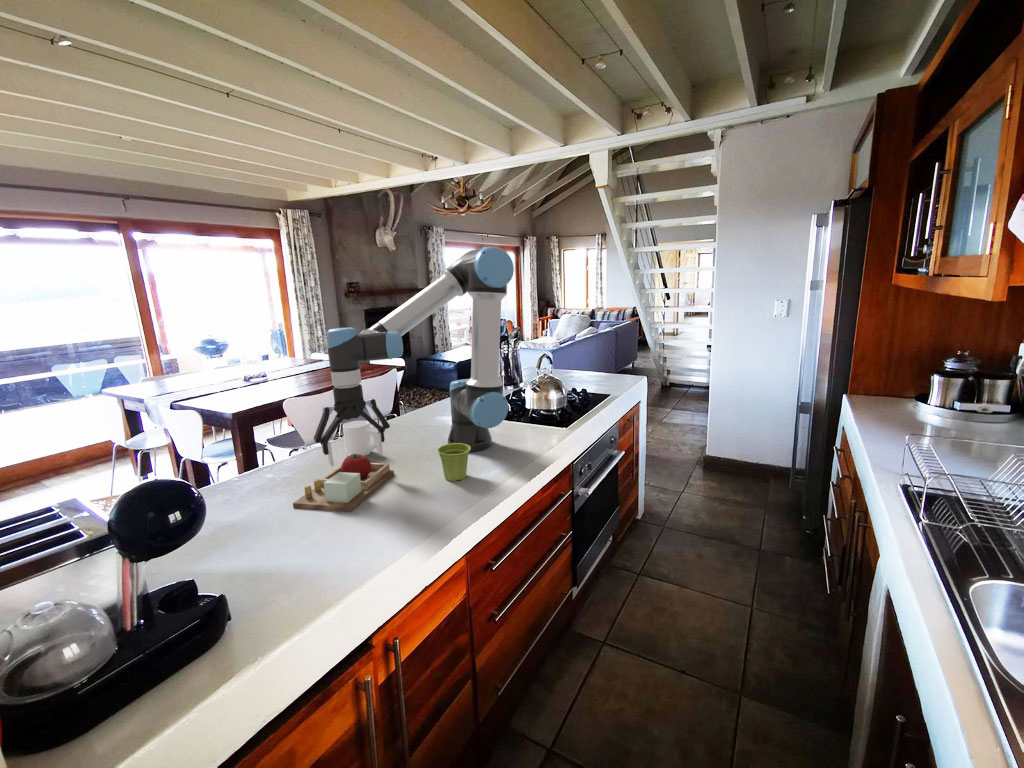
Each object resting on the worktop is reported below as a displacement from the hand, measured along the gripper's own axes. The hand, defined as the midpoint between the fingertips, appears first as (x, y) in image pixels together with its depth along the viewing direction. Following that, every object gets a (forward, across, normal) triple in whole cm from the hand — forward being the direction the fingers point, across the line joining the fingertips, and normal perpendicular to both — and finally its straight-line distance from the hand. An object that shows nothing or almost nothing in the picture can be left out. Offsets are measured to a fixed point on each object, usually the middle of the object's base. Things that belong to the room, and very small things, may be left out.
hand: (356, 459), depth 132 cm
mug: (+7, -8, -23) cm, 25 cm away
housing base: (+7, +4, +4) cm, 9 cm away
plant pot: (+7, -24, +14) cm, 28 cm away
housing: (+5, +7, +10) cm, 13 cm away
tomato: (+6, +1, 0) cm, 6 cm away
